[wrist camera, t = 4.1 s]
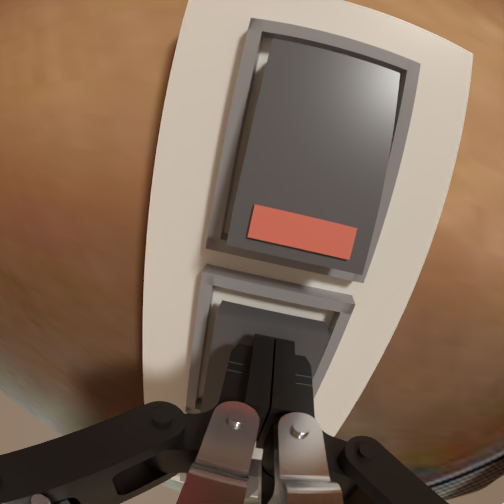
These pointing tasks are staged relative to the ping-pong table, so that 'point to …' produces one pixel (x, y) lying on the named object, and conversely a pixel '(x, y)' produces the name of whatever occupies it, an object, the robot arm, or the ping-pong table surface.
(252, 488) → the rocker
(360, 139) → the rocker
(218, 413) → the robot arm
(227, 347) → the rocker
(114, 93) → the ping-pong table surface
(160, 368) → the switch panel
